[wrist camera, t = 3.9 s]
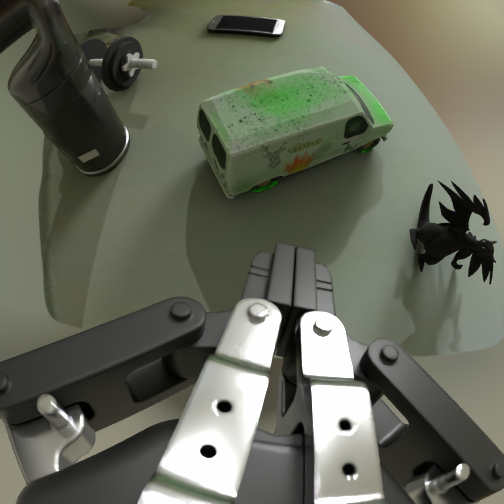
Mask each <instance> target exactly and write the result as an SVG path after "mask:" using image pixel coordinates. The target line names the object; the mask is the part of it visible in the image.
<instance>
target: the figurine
mask: <svg viewBox="0 0 504 504" xmlns="http://www.w3.org/2000/svg"><path fill="white" fill-rule="evenodd" d="M437 181H438V180H437ZM438 182H439V181H438ZM451 182H452V181H451ZM439 183H440V184H441V186H442V187H443V188H444V189H445V190H446V191H447V193H448V194H449V196H450V197H451V200H452V203H453V207H454V210H455V211H452V210H449V209H447V208H446V207H445V206H444V205H443V204H442V203H441V202H439V205H440V209H441V214H442V216H443V217H444V218H445V219H446V220H447V221H448V222H450V223H439V224H436V223H429V206H430V199H431V194H432V189H433V184H430V185H429V186H428V189H427V191H426V193H425V196H424V198H423V201H422V205H421V209H420V213H419V223H418V227H419V228H418V229H410V239H411V242H412V245H413V247H414V250H415V249H416V245H417V238H418V239H419V240H420V241H421V242H423V245H424V248H425V250H426V253H424V254H421V253H419V254H418V264H419V267H420V270H421V272H422V270H423V267H424V262H426V263H427V264H428V265H434V264H436V263H438V262H440V261H441V260H442V259H443V258H444V257H445V256H448V255H450V254H452V253H454V252H456V251H458V250H459V251H458V252H457V253H456V255H455V257H454V259H453V261H452V262H451V265H452V266H453V267H454V268H455V269H461V268H462V266H463V265H461V264H460V265H458V264H457V263H456V262H457V260H461V259H465V258H467V257H469V256H470V255H471V254H472V253H473V254H472V257H471V261H470V266H469V271H468V277H470V276H471V275H473V274H474V273H475V272H476V271H477V270H478V268H479V267H480V265H481V263H482V274H483V281H484V282H485V281H486V279H487V277H488V274H489V271H490V282H489V284H491V281H492V274H493V262H495V263H496V261H495V260H494V258H493V254H494V247H493V244H494V243H497V241H489V240H487V239H482V240H480V241H478V240H476V236H474V237H473V235H472V234H471V232H468V234H466V231H468V230H469V228H468V227H469V225H468V223H469V219H470V216H471V213H472V212H474V213H476V214H479V215H481V217H482V218H483V219H484V223H483V225H485V226H487V225H489V223H490V217H489V212H488V207H487V204H486V201H485V200H484V199H483V203H484V207H483V205H482V203H481V202H480V201H479V199H478V198H477V197H476V196H475V195H474V198H473V202H472V201H471V199H470V198H469V197H468V196H467V195H466V194H465V193H464V192H463V191H462V190H461V189H460V188H459V187H458V186H457V185H456V184H454V183H453V182H452V184H453V186H454V188H455V189H456V191H457V192H458V194H459V195H460V197H461V198H462V199H461V198H460V197H459V196H458V195H457V194H456V193H455V192H454V191H452V190H451V189H450V188H448V187H447V186H445V185H444V184H442V183H441V182H439Z"/></svg>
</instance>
